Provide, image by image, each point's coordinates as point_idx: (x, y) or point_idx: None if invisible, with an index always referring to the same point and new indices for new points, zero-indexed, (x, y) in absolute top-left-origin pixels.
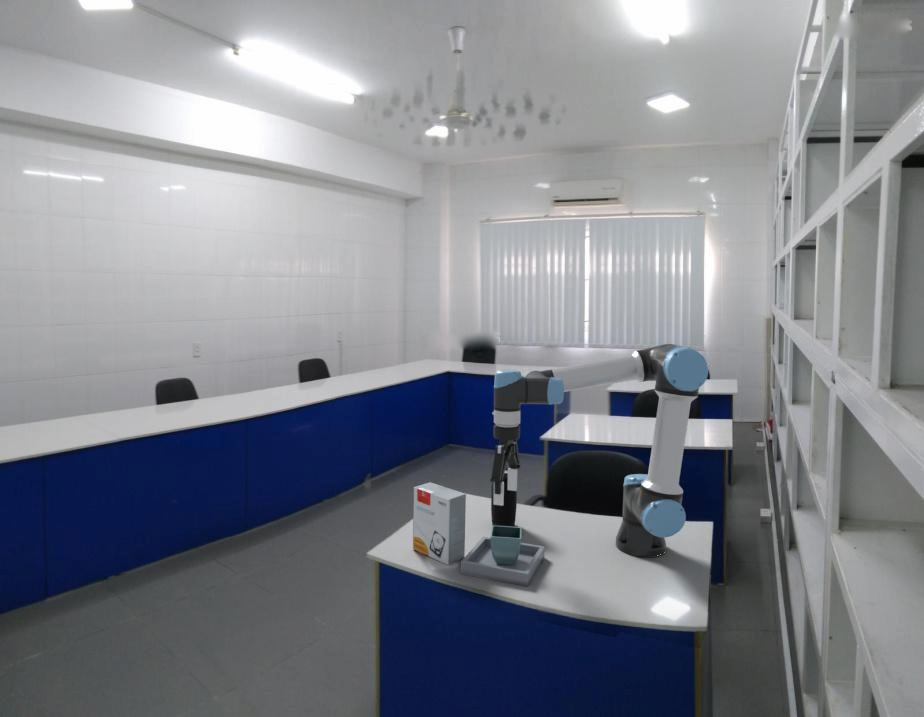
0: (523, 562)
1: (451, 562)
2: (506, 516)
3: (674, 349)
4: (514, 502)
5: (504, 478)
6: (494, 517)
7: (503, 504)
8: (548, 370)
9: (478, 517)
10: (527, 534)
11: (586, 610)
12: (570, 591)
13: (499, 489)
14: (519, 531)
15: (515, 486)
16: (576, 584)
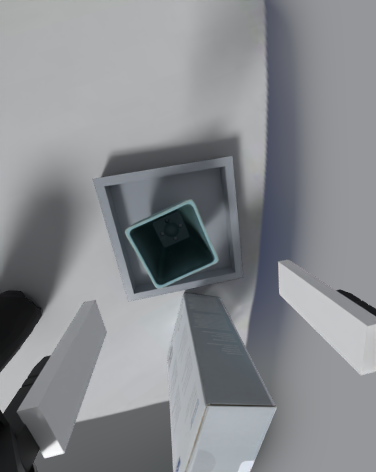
0: (156, 199)
1: (213, 297)
2: (15, 313)
3: None
4: None
5: None
6: (29, 332)
7: (280, 262)
8: None
9: (16, 362)
10: (18, 255)
11: (257, 19)
12: (204, 75)
13: (367, 305)
14: (132, 229)
15: (89, 316)
16: (171, 73)
